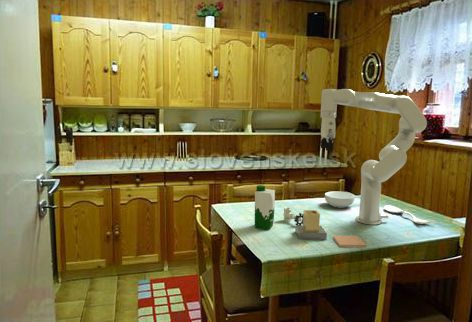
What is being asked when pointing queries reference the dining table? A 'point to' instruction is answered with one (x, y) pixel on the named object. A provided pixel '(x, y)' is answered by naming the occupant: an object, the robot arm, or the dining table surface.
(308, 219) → the sleeve
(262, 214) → the milk carton
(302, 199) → the dining table surface
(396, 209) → the spoon
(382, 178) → the robot arm
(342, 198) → the cereal bowl
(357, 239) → the tile
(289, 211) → the valve
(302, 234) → the grey base with post
